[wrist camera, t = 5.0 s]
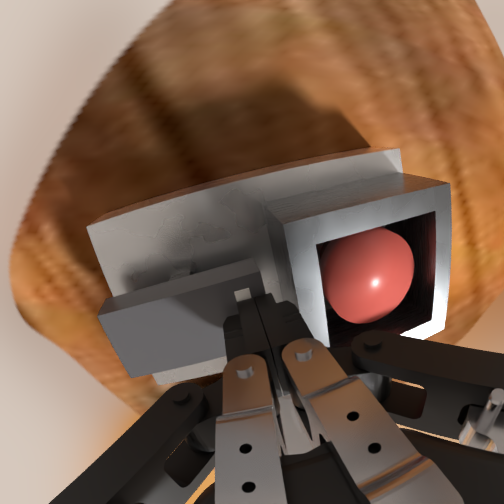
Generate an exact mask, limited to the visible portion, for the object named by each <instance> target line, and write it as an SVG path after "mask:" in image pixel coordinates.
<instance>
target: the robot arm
mask: <svg viewBox="0 0 504 504" xmlns="http://www.w3.org/2000/svg"><path fill="white" fill-rule="evenodd" d="M254 299H255V300H254ZM256 306H257V307H256ZM237 307H238V312H239V314H236V315H232V316H228V317H227V318H226V320H225V322H224V324H223V332H224V340H225V349H226V357H227V364H226V366H225V367H224V369H223V376H222V378H220V379H219V380H218V381H217V382H215V383H213V384H211V385H209V386H207V387H205V388H203V389H202V388H201V387H200V386H199V385H197V384H195V383H181V384H178V385H175V386H173V387H171V388H170V389H169V390H167V391H166V392H165V393H164V394H163V395H162V396H161V397H160V398H159V399H158V400H157V401H156V402H155V403H154V404H153V405H152V406H151V407H150V408H149V409H148V410H147V411H146V412H145V413H144V414H143V415H142V416H141V417H140V418H139V419H138V420H137V421H136V422H135V423H134V424H133V425H132V426H131V427H130V428H129V429H128V430H127V431H126V432H125V433H124V434H123V435H122V436H121V437H120V438H119V439H118V440H117V441H116V442H115V443H114V444H113V445H112V446H111V447H109V448H108V449H107V450H106V451H105V452H104V453H103V454H102V455H101V456H100V457H99V458H98V459H97V460H96V461H95V462H94V463H92V464H91V466H89V467H88V468H87V469H86V470H85V471H84V472H83V473H82V474H81V475H80V476H79V477H78V478H76V479H75V480H74V481H73V482H72V483H71V484H70V485H69V486H68V487H66V489H64V490H63V491H62V492H61V493H60V494H59V495H58V496H56V497H55V498H54V499H53V500H52V501H51V502H50V503H49V504H185V503H186V502H187V500H188V499H189V498H190V497H191V496H192V494H193V493H194V492H195V491H196V490H197V488H198V487H199V486H200V484H202V482H203V481H204V480H205V479H206V477H207V476H208V475H209V474H210V472H211V471H212V470H213V468H214V467H215V482H214V483H213V484H211V485H210V486H209V487H208V488H206V489H205V490H204V492H203V493H202V494H201V495H200V496H199V497H198V498H197V500H196V501H195V502H194V504H504V354H502V353H495V352H489V351H483V350H477V349H471V348H465V347H460V346H455V345H449V344H444V343H439V342H433V341H428V340H423V339H418V338H413V337H408V336H404V335H399V334H394V333H389V332H385V331H380V330H370V331H365V332H363V333H360V334H359V335H357V336H356V337H355V338H354V339H353V341H352V343H351V346H349V347H340V348H330V347H326V346H324V344H323V343H322V342H321V341H319V340H317V339H315V338H314V337H313V335H312V333H311V331H310V330H309V328H308V326H307V324H306V322H305V321H304V319H303V317H302V315H301V314H300V312H299V310H298V308H297V307H296V305H295V304H293V303H291V302H289V301H288V300H286V301H282V302H279V303H276V301H275V299H274V297H273V295H272V293H267V294H264V295H260V296H256V297H253V298H249V299H246V300H242V301H238V302H237ZM392 378H394V379H398V380H401V381H405V382H409V383H413V384H417V385H420V386H422V387H423V388H425V389H421V388H417V387H413V386H409V385H406V384H402V383H398V382H394V381H392ZM278 379H279V380H278ZM279 382H280V384H279ZM280 386H281V387H280ZM281 389H282V391H281ZM282 392H283V395H284V396H285V395H289V394H290V396H291V399H292V402H293V406H294V410H295V413H296V415H297V417H298V419H299V421H300V423H301V425H302V427H303V429H304V431H305V433H306V435H307V437H308V440H309V442H310V444H311V446H312V448H313V449H312V450H311V451H309V452H307V453H303V454H293V455H288V450H287V445H286V439H285V434H284V429H283V424H282V418H281V414H280V403H279V400H278V398H279V397H282V396H283V395H282ZM396 423H397V424H400V425H403V426H407V427H410V428H413V429H417V430H421V431H424V432H428V433H432V434H436V435H440V436H444V437H448V438H452V439H457V440H459V442H460V444H459V443H455V442H451V441H448V440H444V439H441V438H437V437H434V436H430V435H427V434H424V433H421V432H418V431H414V430H410V429H405V428H399V427H398V426H397V425H396ZM182 441H183V442H182ZM181 442H182V443H181ZM180 443H181V444H180ZM174 450H175V451H174ZM173 451H174V452H173ZM172 452H173V453H172ZM166 459H167V460H166Z"/></svg>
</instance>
